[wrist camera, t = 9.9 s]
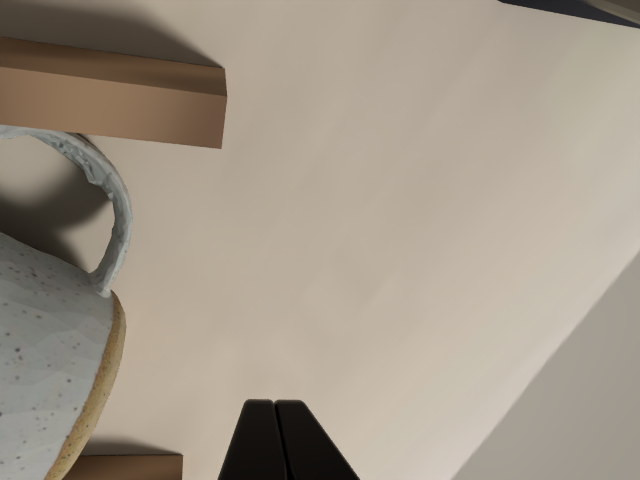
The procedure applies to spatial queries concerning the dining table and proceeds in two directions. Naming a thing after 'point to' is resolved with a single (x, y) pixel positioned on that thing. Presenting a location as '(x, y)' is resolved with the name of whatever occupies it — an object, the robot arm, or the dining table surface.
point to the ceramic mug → (58, 333)
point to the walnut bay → (114, 121)
